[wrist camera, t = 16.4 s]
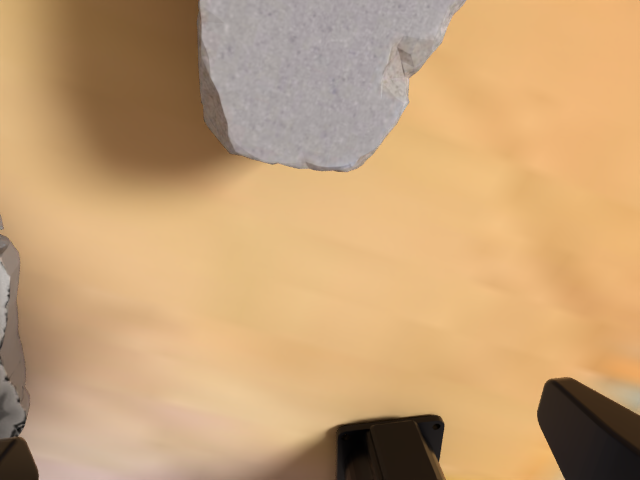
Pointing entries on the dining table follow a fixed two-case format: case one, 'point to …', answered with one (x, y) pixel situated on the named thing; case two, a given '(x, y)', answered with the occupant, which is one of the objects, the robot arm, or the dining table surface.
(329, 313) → the dining table surface
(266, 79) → the decorative stone
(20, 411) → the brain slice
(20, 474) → the robot arm
